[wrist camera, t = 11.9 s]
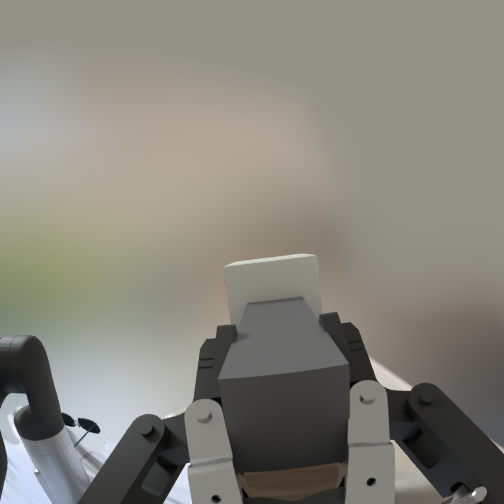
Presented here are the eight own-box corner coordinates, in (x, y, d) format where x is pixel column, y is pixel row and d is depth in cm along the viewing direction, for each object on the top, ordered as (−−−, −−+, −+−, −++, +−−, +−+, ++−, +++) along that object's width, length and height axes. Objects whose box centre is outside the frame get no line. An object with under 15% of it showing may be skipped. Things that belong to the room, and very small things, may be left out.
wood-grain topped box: (335, 547, 25) (338, 362, 25) (262, 555, 25) (223, 376, 25) (323, 490, 39) (315, 324, 39) (264, 496, 39) (238, 333, 39)
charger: (386, 450, 7) (387, 264, 7) (197, 472, 8) (157, 292, 8) (309, 318, 27) (302, 253, 27) (244, 326, 28) (236, 261, 28)
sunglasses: (103, 435, 61) (96, 420, 60) (75, 468, 46) (65, 453, 46) (60, 423, 64) (53, 409, 63) (32, 449, 49) (23, 435, 49)
